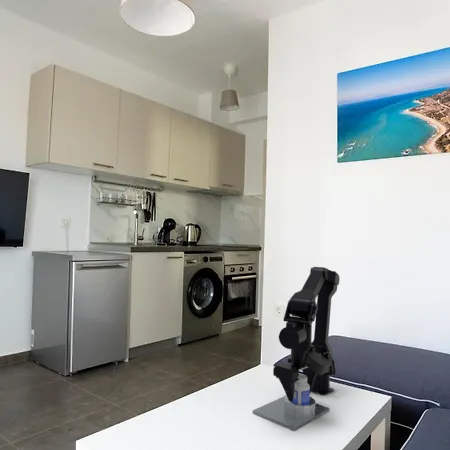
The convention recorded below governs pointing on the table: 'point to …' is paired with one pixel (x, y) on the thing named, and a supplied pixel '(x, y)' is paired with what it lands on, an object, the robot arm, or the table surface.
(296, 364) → the robot arm
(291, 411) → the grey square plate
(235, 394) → the table surface
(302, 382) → the pill bottle
